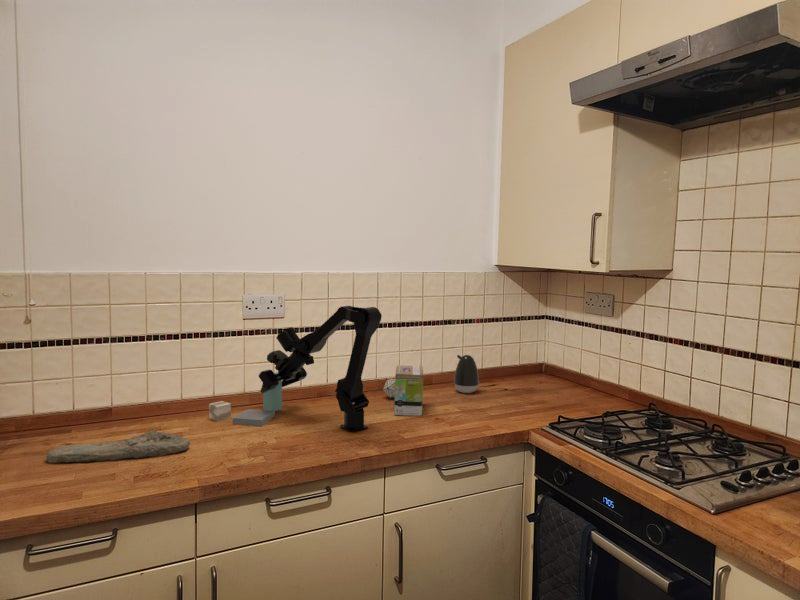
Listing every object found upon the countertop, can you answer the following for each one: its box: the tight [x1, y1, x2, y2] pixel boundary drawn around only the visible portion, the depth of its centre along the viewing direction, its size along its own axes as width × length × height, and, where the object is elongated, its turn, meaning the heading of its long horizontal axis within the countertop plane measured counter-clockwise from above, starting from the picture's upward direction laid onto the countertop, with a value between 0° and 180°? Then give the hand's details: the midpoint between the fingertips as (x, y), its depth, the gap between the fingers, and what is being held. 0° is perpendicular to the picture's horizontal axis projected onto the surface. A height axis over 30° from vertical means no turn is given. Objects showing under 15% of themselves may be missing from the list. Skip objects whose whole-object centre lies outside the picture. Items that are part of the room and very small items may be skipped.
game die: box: [380, 377, 395, 400], centre depth 204 cm, size 9×8×10 cm
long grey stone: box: [45, 429, 191, 464], centre depth 144 cm, size 35×5×10 cm
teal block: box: [262, 371, 283, 412], centre depth 186 cm, size 4×4×13 cm
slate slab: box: [232, 408, 276, 427], centre depth 175 cm, size 10×10×2 cm
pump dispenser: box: [453, 354, 480, 394], centre depth 215 cm, size 10×10×15 cm
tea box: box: [393, 365, 424, 417], centre depth 189 cm, size 15×10×15 cm
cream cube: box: [208, 400, 232, 422], centre depth 176 cm, size 5×5×5 cm
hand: (271, 389), depth 186 cm, fingers open, 9 cm apart
